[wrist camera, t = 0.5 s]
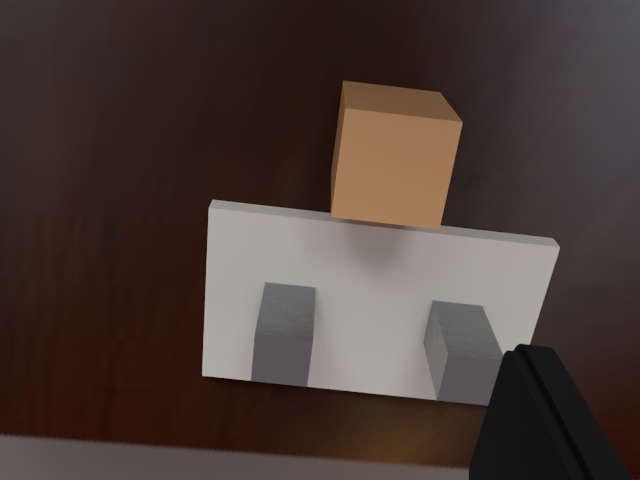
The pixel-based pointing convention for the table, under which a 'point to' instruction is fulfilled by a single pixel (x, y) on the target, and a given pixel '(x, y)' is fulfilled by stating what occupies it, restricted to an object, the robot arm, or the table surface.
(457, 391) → the post
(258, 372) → the post
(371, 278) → the board
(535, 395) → the robot arm
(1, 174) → the table surface
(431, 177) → the block
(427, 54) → the table surface
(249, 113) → the table surface
